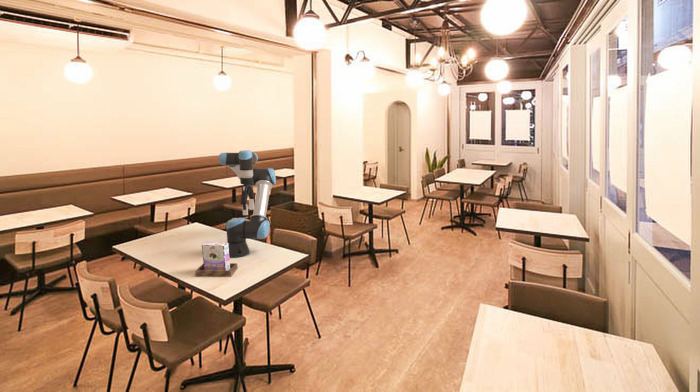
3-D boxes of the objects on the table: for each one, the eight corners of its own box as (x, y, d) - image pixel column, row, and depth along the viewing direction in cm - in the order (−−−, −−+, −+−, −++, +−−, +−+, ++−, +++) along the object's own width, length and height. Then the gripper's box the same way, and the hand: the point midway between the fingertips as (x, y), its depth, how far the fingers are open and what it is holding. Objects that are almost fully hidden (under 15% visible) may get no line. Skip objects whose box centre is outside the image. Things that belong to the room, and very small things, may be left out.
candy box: (230, 269, 229) (228, 242, 225) (225, 273, 223) (223, 245, 220) (209, 268, 231) (207, 241, 228) (203, 271, 226) (201, 244, 223)
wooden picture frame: (195, 276, 221) (195, 270, 221) (204, 268, 233) (203, 263, 232) (231, 276, 221) (230, 271, 220) (237, 268, 233) (237, 263, 232)
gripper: (246, 174, 244) (248, 207, 249) (233, 180, 220) (236, 217, 224) (258, 174, 244) (260, 207, 248) (247, 180, 220) (249, 217, 224)
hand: (248, 212), depth 236 cm, fingers open, 13 cm apart
